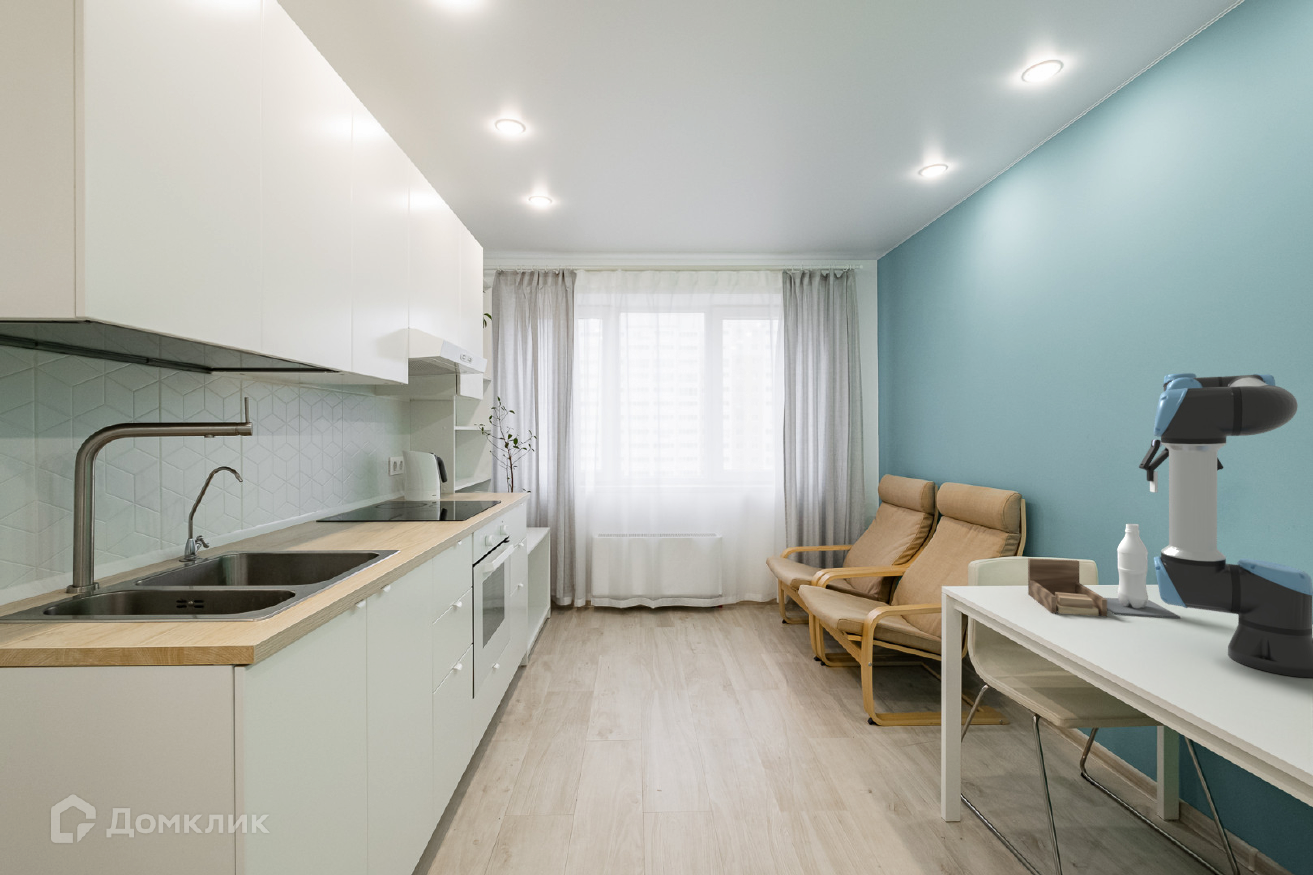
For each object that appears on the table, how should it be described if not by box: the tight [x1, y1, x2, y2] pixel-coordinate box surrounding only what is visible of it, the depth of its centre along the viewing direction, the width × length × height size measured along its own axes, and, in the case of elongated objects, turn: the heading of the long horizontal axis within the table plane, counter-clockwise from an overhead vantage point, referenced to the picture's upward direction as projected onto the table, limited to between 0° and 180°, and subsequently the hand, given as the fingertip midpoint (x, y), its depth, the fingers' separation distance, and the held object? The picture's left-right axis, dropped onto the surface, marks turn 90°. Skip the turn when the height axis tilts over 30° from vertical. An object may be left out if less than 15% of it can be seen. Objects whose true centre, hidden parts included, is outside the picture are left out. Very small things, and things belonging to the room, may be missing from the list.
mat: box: [1104, 597, 1181, 620], centre depth 172 cm, size 16×16×1 cm
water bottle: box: [1116, 523, 1149, 609], centre depth 172 cm, size 7×7×25 cm
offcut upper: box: [1055, 592, 1093, 609], centre depth 171 cm, size 6×8×2 cm
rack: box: [1027, 557, 1108, 617], centre depth 176 cm, size 20×14×12 cm
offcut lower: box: [1056, 602, 1099, 617], centre depth 171 cm, size 7×10×2 cm
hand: (1180, 492), depth 175 cm, fingers open, 13 cm apart
